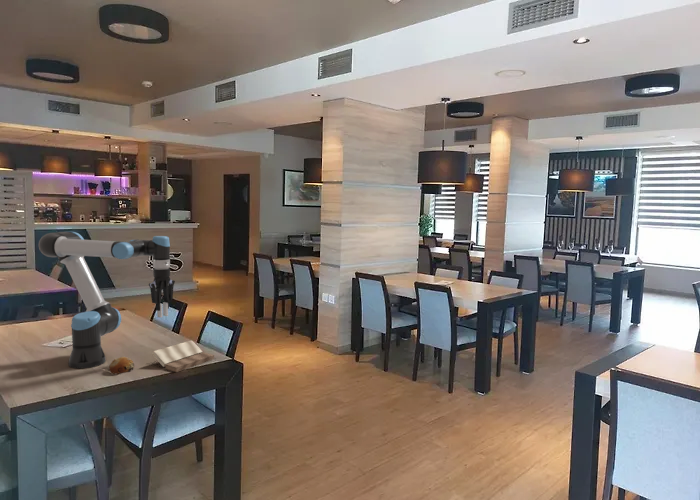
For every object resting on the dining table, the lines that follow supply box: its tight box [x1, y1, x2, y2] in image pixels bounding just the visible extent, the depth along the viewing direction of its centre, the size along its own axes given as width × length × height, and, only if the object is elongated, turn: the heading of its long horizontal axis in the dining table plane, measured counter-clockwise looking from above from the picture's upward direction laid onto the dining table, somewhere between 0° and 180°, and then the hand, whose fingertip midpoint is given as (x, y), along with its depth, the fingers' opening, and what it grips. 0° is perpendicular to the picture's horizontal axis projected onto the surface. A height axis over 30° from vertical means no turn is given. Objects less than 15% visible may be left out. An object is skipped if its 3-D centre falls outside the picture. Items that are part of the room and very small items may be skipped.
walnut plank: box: [164, 352, 215, 373], centre depth 226 cm, size 22×8×2 cm, turn 149°
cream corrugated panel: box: [152, 340, 203, 368], centre depth 230 cm, size 22×9×2 cm, turn 149°
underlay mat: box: [146, 357, 216, 374], centre depth 230 cm, size 24×22×1 cm
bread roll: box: [108, 356, 135, 375], centre depth 218 cm, size 10×10×8 cm
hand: (162, 316), depth 234 cm, fingers open, 3 cm apart
